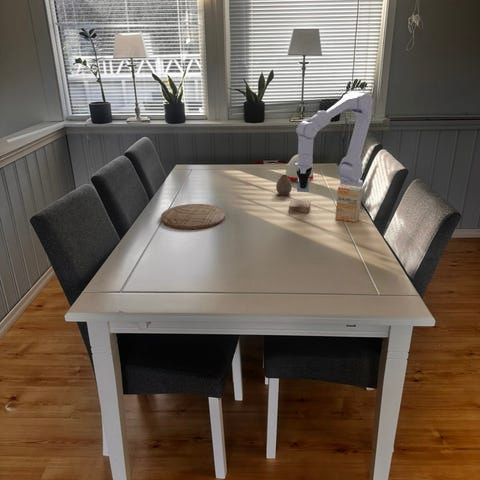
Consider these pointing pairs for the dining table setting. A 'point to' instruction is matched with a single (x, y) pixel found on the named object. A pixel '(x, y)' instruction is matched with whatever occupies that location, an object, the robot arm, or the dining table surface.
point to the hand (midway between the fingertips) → (303, 186)
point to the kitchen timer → (294, 169)
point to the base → (299, 206)
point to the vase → (284, 185)
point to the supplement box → (348, 203)
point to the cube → (302, 188)
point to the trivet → (193, 216)
